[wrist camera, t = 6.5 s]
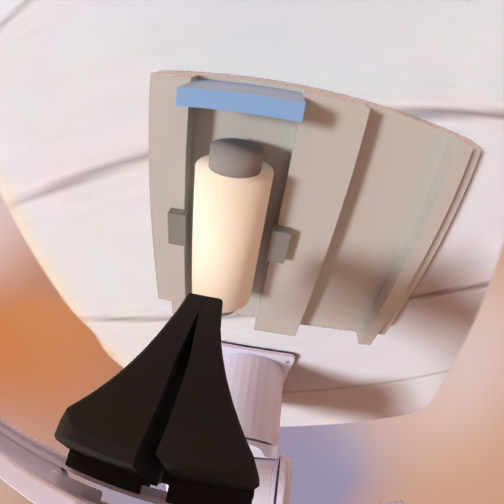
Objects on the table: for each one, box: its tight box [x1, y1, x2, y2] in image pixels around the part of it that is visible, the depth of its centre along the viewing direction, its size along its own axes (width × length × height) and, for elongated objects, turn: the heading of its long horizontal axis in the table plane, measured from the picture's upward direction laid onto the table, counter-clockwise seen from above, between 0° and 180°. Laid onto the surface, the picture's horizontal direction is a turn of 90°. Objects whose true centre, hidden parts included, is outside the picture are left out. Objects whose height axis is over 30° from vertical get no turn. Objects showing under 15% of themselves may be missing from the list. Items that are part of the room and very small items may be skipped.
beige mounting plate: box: [149, 71, 482, 345], centre depth 17 cm, size 16×18×4 cm
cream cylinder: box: [192, 138, 274, 316], centre depth 16 cm, size 10×4×4 cm, turn 172°
